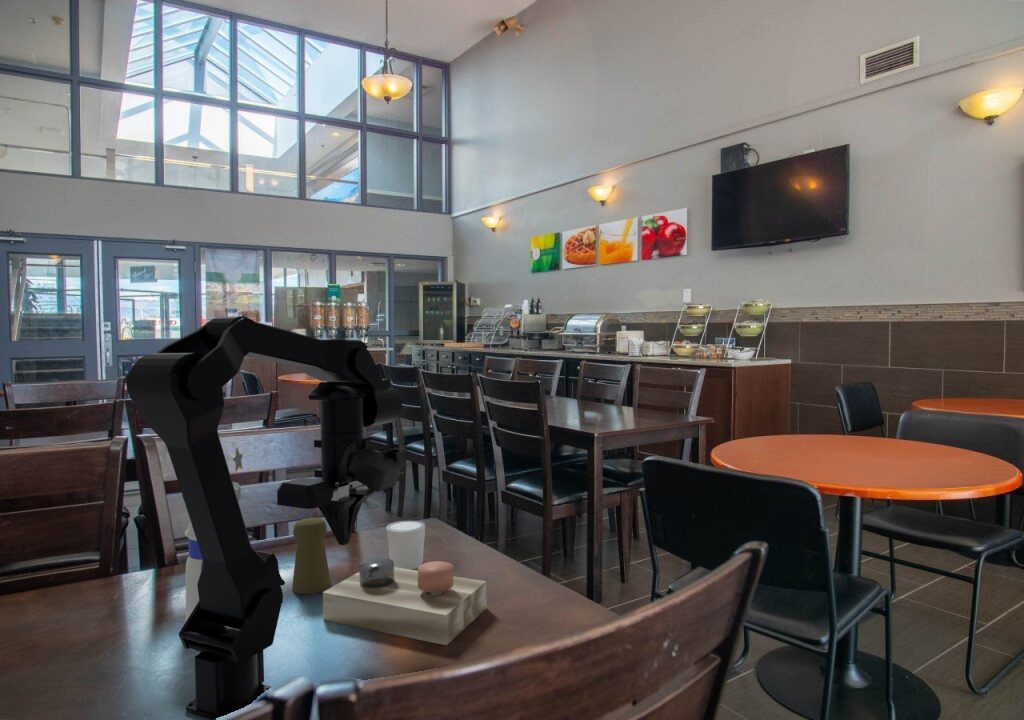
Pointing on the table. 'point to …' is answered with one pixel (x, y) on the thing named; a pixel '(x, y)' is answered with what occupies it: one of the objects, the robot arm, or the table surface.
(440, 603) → the plunger block
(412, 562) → the shot glass
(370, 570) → the metal plunger
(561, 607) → the table surface
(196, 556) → the water bottle
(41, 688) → the table surface
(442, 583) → the pink mushroom knob
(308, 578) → the cork
